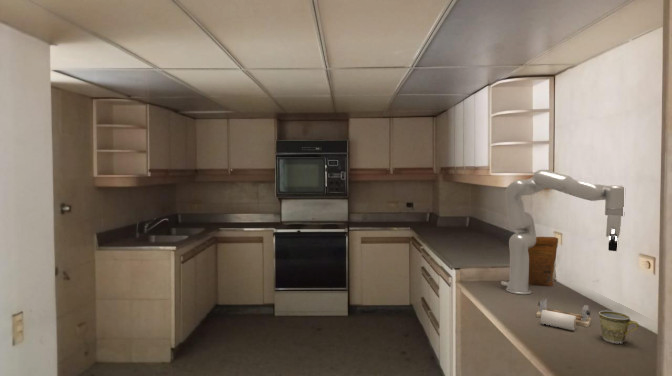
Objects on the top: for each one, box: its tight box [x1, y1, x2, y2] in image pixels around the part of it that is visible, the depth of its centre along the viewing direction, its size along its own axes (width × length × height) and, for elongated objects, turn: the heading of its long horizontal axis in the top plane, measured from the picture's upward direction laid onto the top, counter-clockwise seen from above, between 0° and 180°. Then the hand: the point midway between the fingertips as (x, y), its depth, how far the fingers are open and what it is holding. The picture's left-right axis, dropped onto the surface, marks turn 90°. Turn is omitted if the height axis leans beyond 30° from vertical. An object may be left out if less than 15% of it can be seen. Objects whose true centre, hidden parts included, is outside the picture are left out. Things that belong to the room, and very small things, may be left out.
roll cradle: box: [535, 297, 592, 328], centre depth 187 cm, size 20×9×7 cm, turn 53°
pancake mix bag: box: [528, 236, 559, 287], centre depth 244 cm, size 7×19×28 cm, turn 72°
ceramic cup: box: [598, 310, 640, 345], centre depth 162 cm, size 13×10×10 cm
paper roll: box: [540, 310, 577, 332], centre depth 177 cm, size 12×6×6 cm, turn 53°
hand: (613, 249), depth 197 cm, fingers open, 9 cm apart
